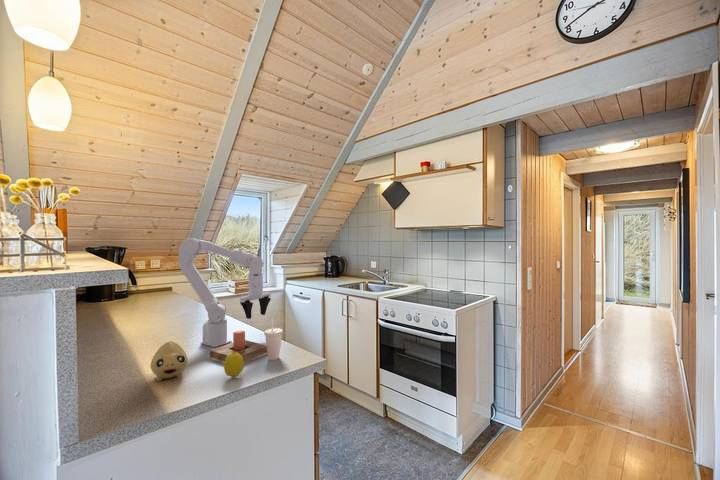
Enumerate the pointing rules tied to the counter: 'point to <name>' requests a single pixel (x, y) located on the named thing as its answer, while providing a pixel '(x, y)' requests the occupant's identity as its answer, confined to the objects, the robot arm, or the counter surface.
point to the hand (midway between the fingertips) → (256, 316)
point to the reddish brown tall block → (238, 340)
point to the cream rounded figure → (169, 361)
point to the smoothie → (273, 342)
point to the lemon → (233, 364)
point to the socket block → (247, 354)
